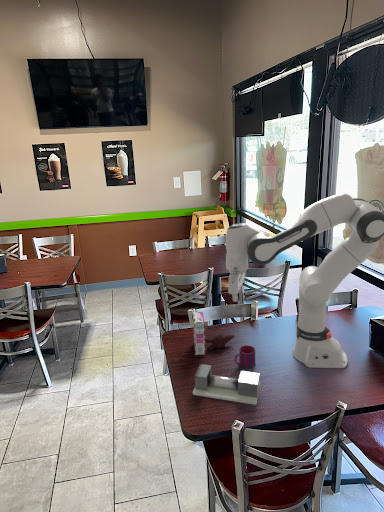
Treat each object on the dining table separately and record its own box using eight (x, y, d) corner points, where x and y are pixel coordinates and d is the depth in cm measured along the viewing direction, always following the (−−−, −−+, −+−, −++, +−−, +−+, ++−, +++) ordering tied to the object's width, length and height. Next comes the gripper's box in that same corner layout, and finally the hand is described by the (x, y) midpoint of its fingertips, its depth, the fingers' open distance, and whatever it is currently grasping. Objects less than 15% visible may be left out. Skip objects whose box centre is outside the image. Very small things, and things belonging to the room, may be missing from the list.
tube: (240, 385, 138) (240, 376, 137) (238, 392, 134) (238, 383, 133) (202, 380, 142) (202, 371, 141) (199, 386, 138) (199, 377, 137)
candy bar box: (206, 355, 161) (205, 322, 156) (195, 355, 161) (193, 323, 156) (204, 342, 172) (203, 311, 167) (194, 342, 171) (192, 311, 167)
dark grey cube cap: (259, 386, 137) (259, 373, 135) (257, 397, 131) (257, 384, 129) (241, 383, 139) (241, 370, 137) (238, 394, 133) (238, 381, 131)
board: (259, 384, 140) (259, 382, 140) (256, 404, 129) (256, 402, 129) (200, 375, 147) (200, 373, 146) (192, 394, 136) (192, 392, 135)
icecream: (229, 327, 172) (201, 336, 167) (236, 330, 165) (207, 340, 160) (232, 340, 173) (204, 350, 168) (239, 344, 166) (210, 354, 161)
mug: (258, 365, 152) (258, 351, 150) (238, 371, 148) (238, 357, 146) (249, 357, 158) (249, 343, 156) (230, 363, 154) (229, 349, 152)
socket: (211, 378, 143) (211, 365, 141) (206, 391, 136) (206, 377, 134) (200, 376, 144) (200, 364, 142) (195, 389, 137) (194, 375, 135)
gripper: (240, 273, 131) (240, 307, 135) (248, 256, 150) (248, 287, 154) (224, 272, 133) (224, 306, 137) (233, 256, 152) (233, 286, 156)
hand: (237, 296), depth 146 cm, fingers open, 8 cm apart
